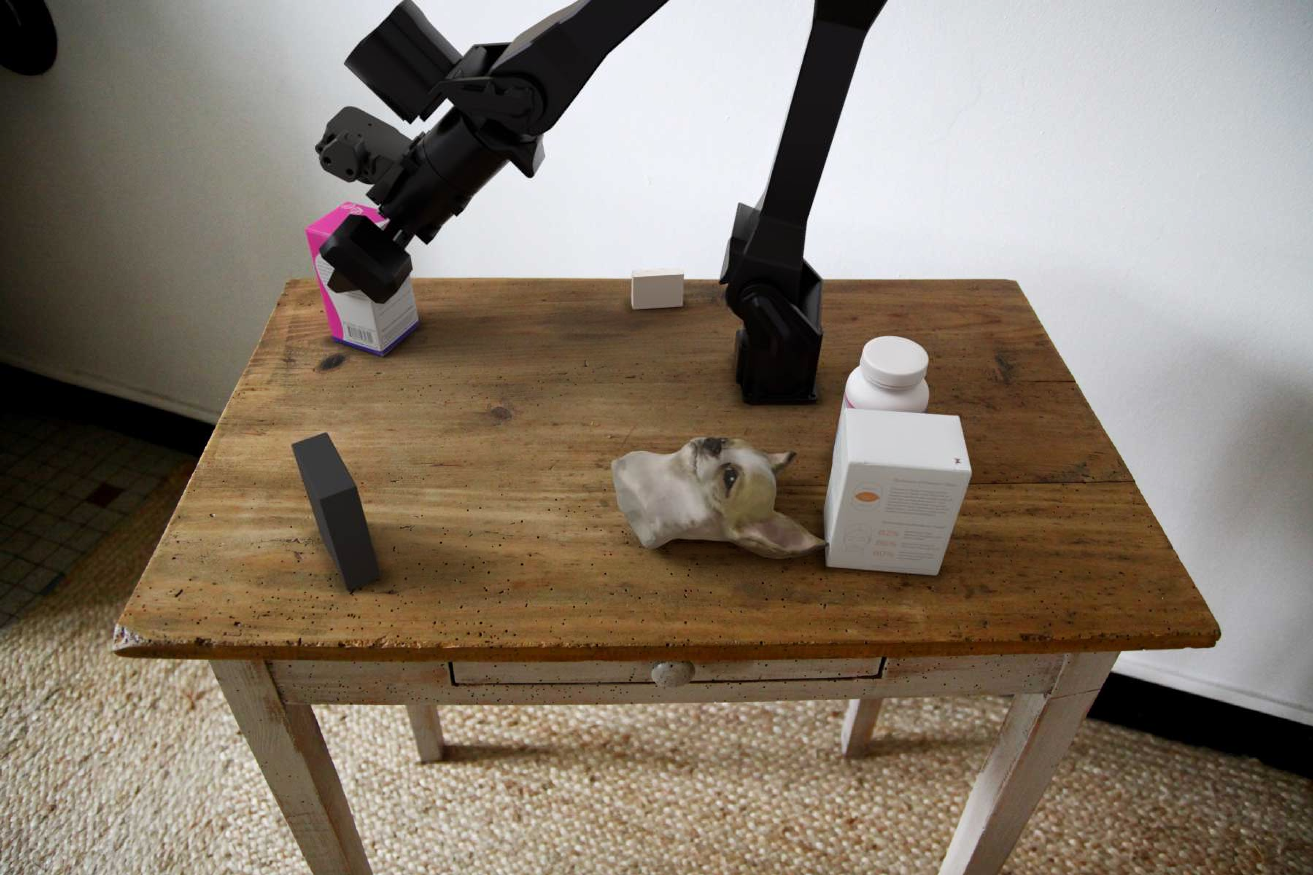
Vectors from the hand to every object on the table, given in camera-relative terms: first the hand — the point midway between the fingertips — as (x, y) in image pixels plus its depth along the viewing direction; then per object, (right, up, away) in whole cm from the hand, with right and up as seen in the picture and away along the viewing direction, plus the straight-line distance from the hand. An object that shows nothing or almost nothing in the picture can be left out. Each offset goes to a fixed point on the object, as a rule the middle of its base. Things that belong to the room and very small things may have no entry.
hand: (348, 267), depth 81 cm
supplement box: (+1, -5, +4) cm, 7 cm away
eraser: (+27, -2, +9) cm, 29 cm away
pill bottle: (+44, -17, -8) cm, 48 cm away
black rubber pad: (+5, -23, -16) cm, 29 cm away
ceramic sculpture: (+31, -22, -13) cm, 40 cm away
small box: (+43, -23, -14) cm, 51 cm away
